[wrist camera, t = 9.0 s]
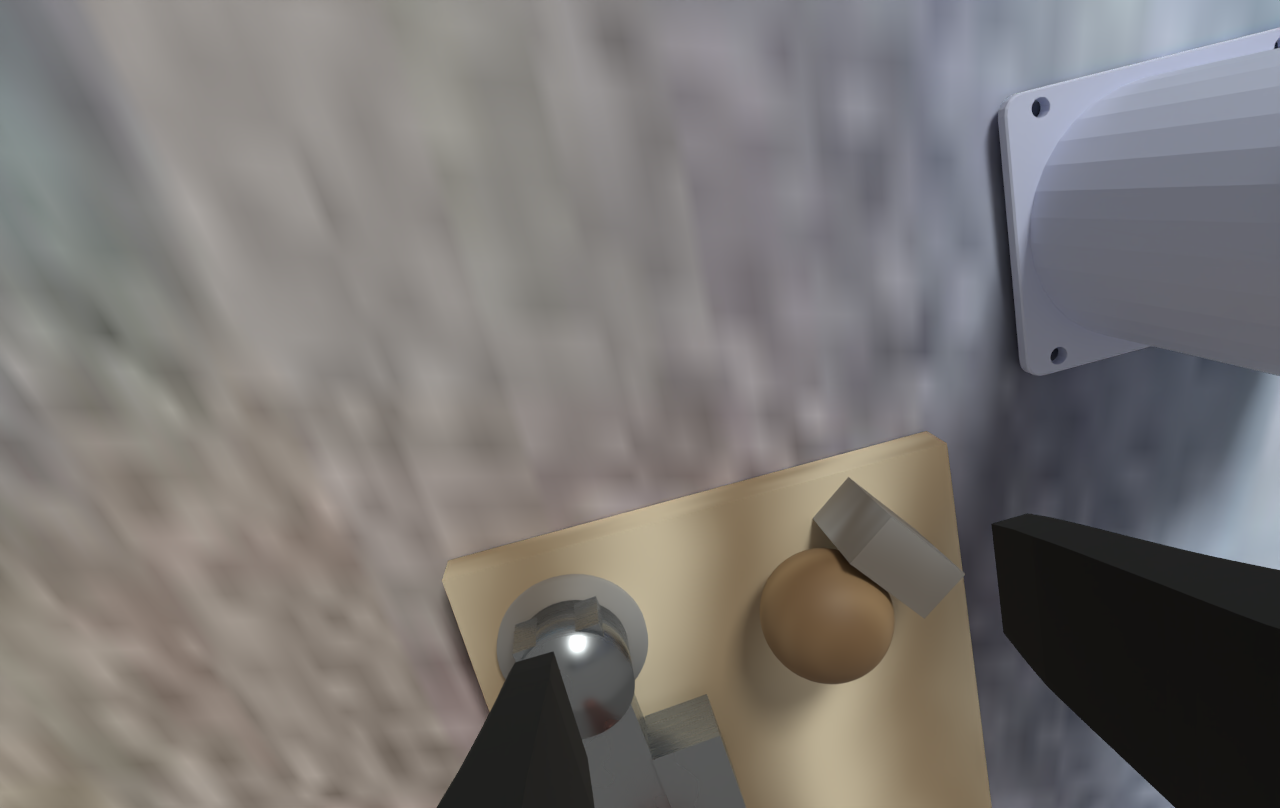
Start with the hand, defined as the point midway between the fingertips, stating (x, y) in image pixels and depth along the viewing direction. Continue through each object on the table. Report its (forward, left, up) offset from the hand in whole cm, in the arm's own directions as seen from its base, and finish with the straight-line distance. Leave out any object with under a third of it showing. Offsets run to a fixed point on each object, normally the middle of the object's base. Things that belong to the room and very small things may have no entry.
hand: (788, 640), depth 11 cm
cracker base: (0, +9, -10) cm, 14 cm away
